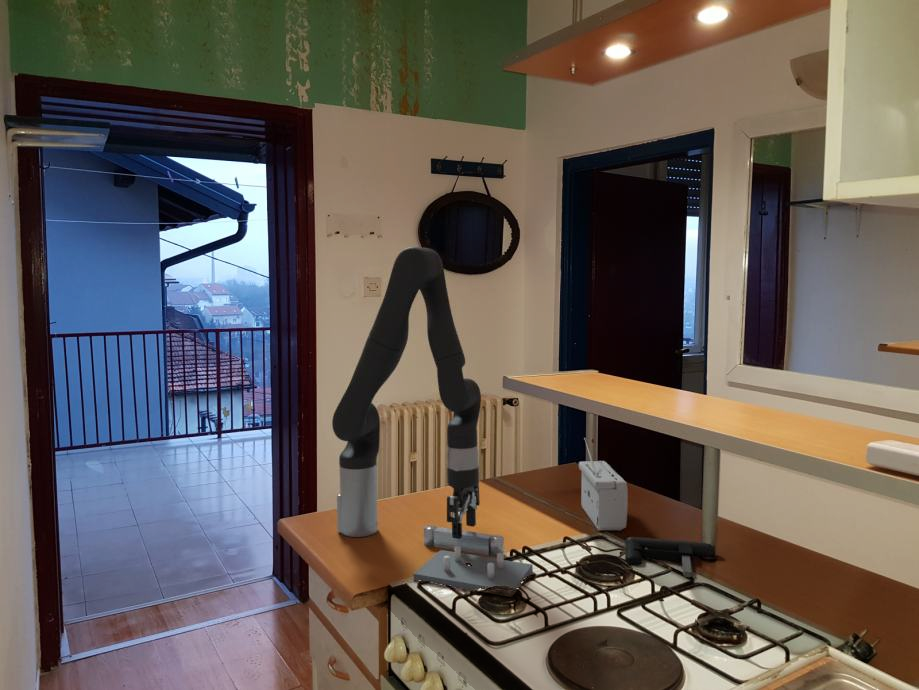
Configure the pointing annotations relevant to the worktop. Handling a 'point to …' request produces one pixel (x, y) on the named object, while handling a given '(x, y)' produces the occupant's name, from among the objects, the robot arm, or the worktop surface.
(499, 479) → the worktop surface
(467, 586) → the board
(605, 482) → the stereo radio cassette player
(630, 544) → the toy gun
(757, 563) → the worktop surface
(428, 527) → the grey end-post crossbar
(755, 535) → the worktop surface
